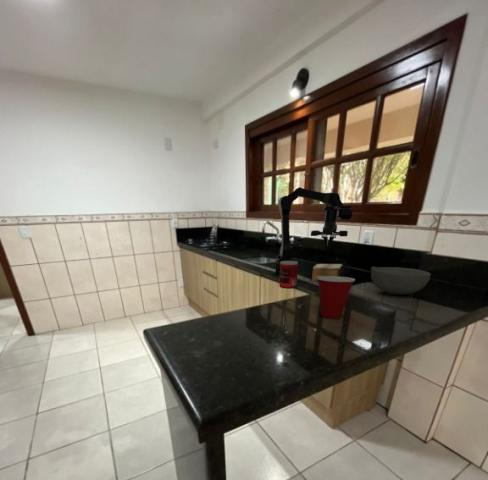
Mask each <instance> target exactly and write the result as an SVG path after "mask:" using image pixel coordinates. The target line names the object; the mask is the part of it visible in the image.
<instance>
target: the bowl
mask: <svg viewBox="0 0 488 480" xmlns="http://www.w3.org/2000/svg"><path fill="white" fill-rule="evenodd" d="M431 276H432V275H431V273H430V272H429V271H426V270H422V269H416V268H409V267H398V266H397V267H396V266H393V267H392V266H379V267H378V266H371V268H370V278H371V281H372V283H373V285H374V286H375V287H376V288H378V289H379V290H381V291H382V292H385V293H387V294H389V295H395V296H404V295H412V294H416V292H419V291H421V290H422V289H423V288H425V287H426V286H427V285H428V283H429V281H430V280H431Z"/></svg>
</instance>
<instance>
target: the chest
mask: <svg viewBox="0 0 488 480" xmlns="http://www.w3.org/2000/svg"><path fill="white" fill-rule="evenodd" d="M340 272H341V268H340V269H313V268H312V275H311V281H312V282H318V279H317V277H318V276H337V277H340Z"/></svg>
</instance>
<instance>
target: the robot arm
mask: <svg viewBox="0 0 488 480" xmlns="http://www.w3.org/2000/svg"><path fill="white" fill-rule="evenodd" d="M298 198H304V199H309V200H313V201H318V202H321V203H322V204H324V207H323V208H322V209H321V211H325V216H324V224H323V227H322V231H321V230H318V229H317V230H315V229H314V230H311V231H310V237H318V236H321V237H320V238H321V239H323V241H324V245H325V250H326V251H329V249H330V248H331V247H330V246H331V245H332V243H333V241H334V239H336V238H337V236H339V237H348V236H349V235H348V234H349V231H348V230H339V231H338V224H337V220H351V218H352V216H353V209H352V205H344V204H343V201H342V200H341V196H340V194H339V193H338V192H322V191H316V190H312V189H307V188H303V187H301V186H300V187H296V188H295V189H294V190H293V191H291V192H290V193H289V194H287V195H283V196H281V197H280V198H279V199H278V200H277V201H278V202H277V206H278V211H279V214H280V225H281V226H280V227H281V228H280V229H281V246H280V248H279V254H278V256H276V257H275V261H276V262H275V273H274V275H279V276H280V262H281V261H291V260H292V258H293V255H294V246H292V245H291V243H290V239H291V238H290V214H291V209H292V204H293V202H295V201H296V200H297V199H298Z"/></svg>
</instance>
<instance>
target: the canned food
mask: <svg viewBox="0 0 488 480" xmlns="http://www.w3.org/2000/svg"><path fill="white" fill-rule="evenodd" d="M298 270H299V262H298V261H295V260H289V261H281V262H280V275H279V281H278V285H279V288H281V289H285V290H290V289H292V290H293V289H296V288H297V282H298Z"/></svg>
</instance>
